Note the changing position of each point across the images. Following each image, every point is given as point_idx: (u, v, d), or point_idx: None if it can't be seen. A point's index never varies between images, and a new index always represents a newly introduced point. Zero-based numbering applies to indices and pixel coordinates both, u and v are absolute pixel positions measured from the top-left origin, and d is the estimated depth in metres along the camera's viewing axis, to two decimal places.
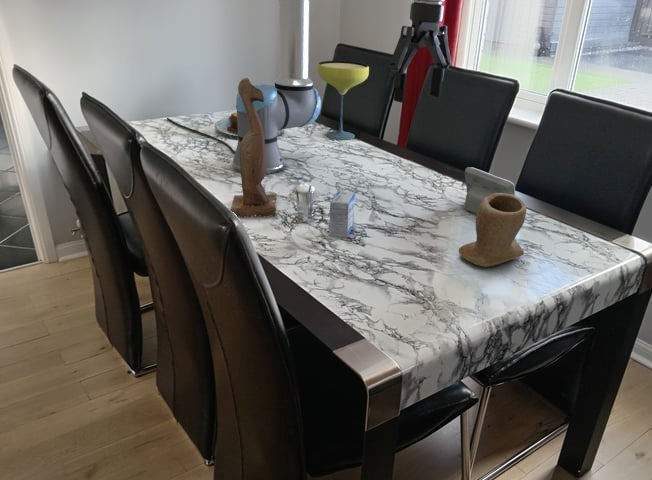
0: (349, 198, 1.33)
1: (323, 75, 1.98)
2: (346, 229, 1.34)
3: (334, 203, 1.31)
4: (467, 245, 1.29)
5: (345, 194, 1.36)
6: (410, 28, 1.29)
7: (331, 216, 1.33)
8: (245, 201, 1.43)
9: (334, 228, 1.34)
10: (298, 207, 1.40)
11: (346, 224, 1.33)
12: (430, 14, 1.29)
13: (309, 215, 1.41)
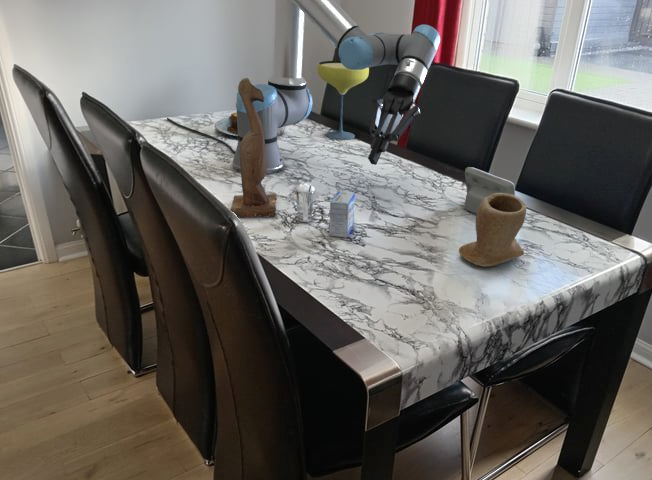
0: (349, 198, 1.33)
1: (323, 75, 1.98)
2: (346, 229, 1.34)
3: (334, 203, 1.31)
4: (467, 245, 1.29)
5: (345, 194, 1.36)
6: (373, 100, 1.47)
7: (331, 216, 1.33)
8: (245, 201, 1.43)
9: (334, 228, 1.34)
10: (298, 207, 1.40)
11: (346, 224, 1.33)
12: (393, 80, 1.45)
13: (309, 215, 1.41)
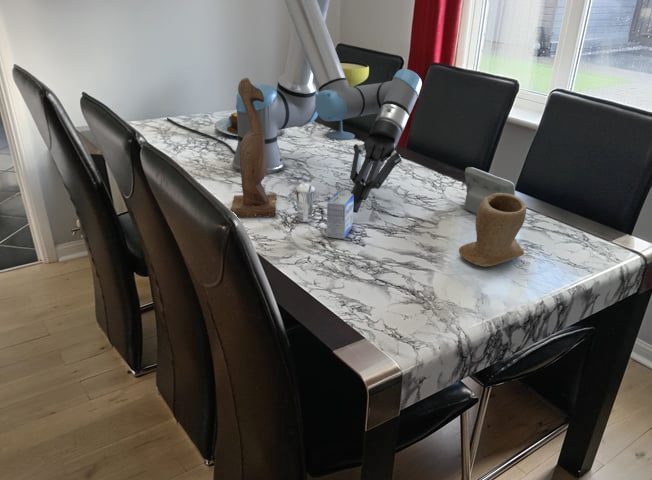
0: (347, 199, 1.32)
1: None
2: (343, 230, 1.33)
3: (331, 204, 1.30)
4: (467, 245, 1.29)
5: (343, 195, 1.35)
6: (354, 146, 1.44)
7: (328, 217, 1.32)
8: (245, 201, 1.43)
9: (331, 229, 1.33)
10: (298, 207, 1.40)
11: (343, 225, 1.32)
12: (374, 126, 1.42)
13: (309, 215, 1.41)
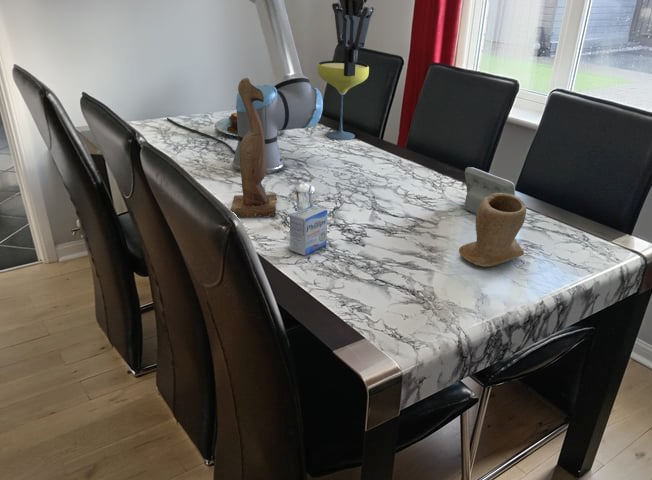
0: (313, 214, 1.24)
1: (323, 75, 1.98)
2: (303, 246, 1.24)
3: (293, 217, 1.23)
4: (467, 245, 1.29)
5: (314, 209, 1.26)
6: (332, 5, 1.46)
7: (291, 230, 1.25)
8: (245, 201, 1.43)
9: (293, 243, 1.26)
10: (298, 207, 1.40)
11: (303, 241, 1.24)
12: None
13: None
